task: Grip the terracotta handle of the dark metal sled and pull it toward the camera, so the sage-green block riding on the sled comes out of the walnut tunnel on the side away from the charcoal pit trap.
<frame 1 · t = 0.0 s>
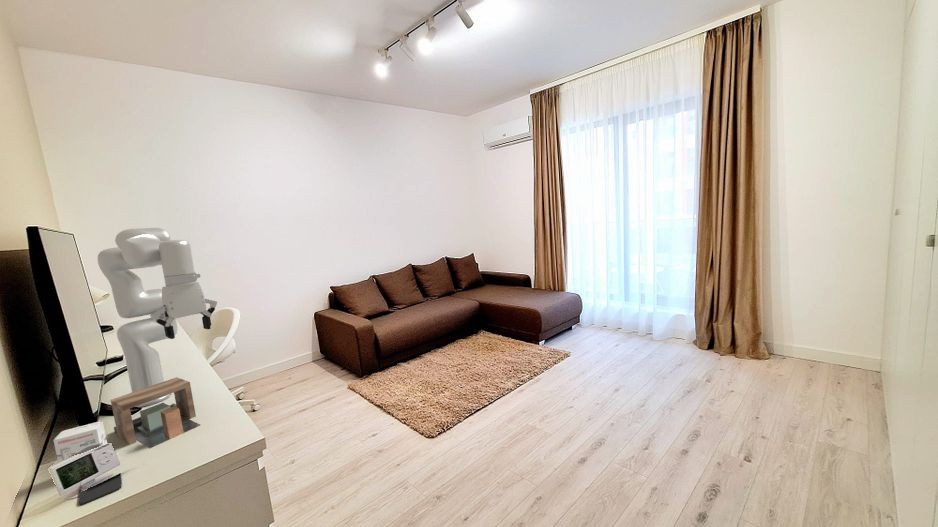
hand: (190, 333, 113), 31 cm above the table, fingers open, 9 cm apart
sage block: (158, 426, 117), point 1 cm above the table, touching sled
phone: (101, 485, 92), on the table
ink box: (87, 470, 98), on the table
tunnel: (159, 429, 117), on the table
pit trap: (149, 424, 121), on the table
sled: (162, 419, 114), point 5 cm above the table, slide at 0.0 cm, touching sage block
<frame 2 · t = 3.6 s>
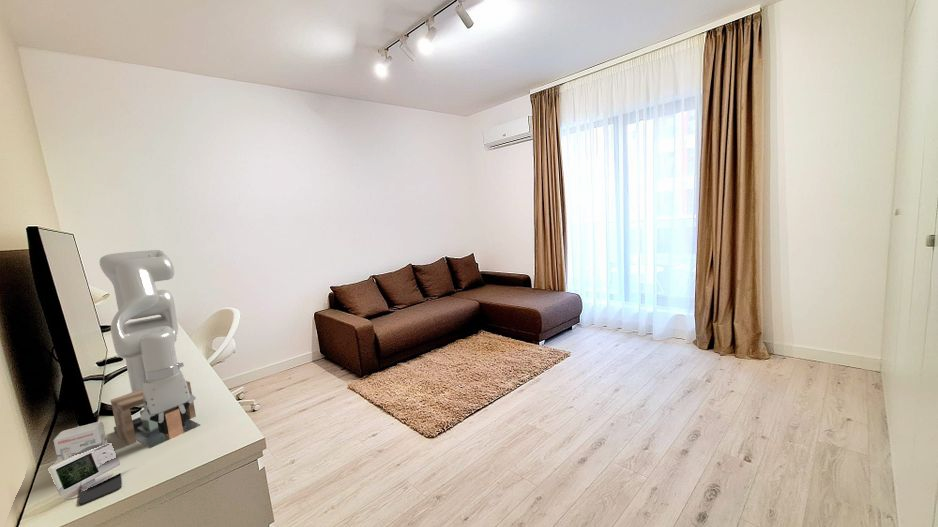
hand: (173, 428, 110), 3 cm above the table, fingers closed on sled, 3 cm apart
sled: (162, 419, 114), point 5 cm above the table, slide at 0.0 cm, touching gripper, sage block
everything else where it was.
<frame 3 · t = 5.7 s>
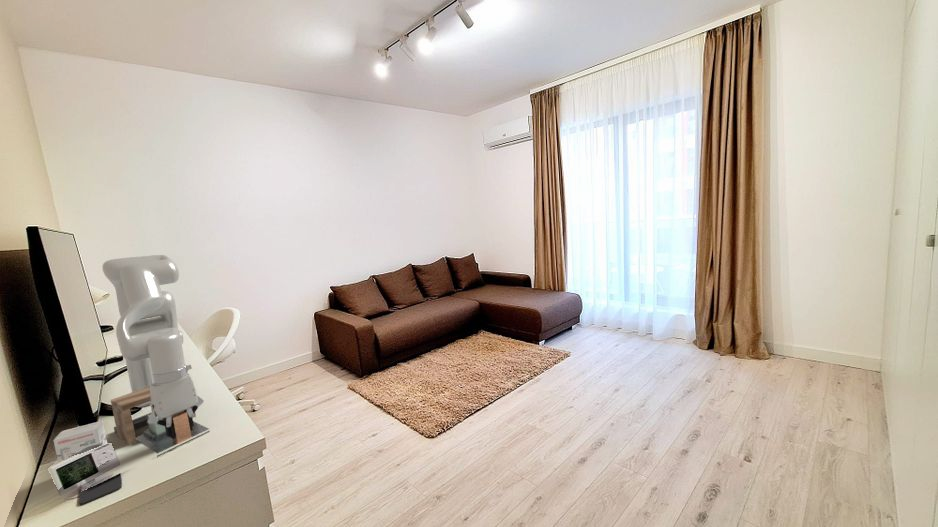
hand: (180, 432, 108), 3 cm above the table, fingers closed on sled, 3 cm apart
sage block: (165, 429, 114), point 1 cm above the table, touching sled
sled: (169, 422, 111), point 5 cm above the table, slide at 5.4 cm, touching gripper, sage block
everything else where it was.
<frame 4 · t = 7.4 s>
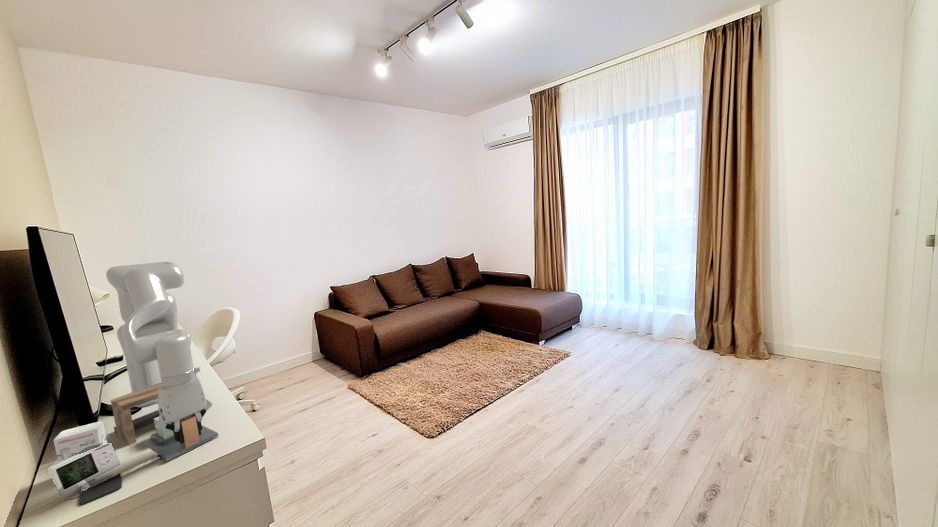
hand: (189, 437, 105), 3 cm above the table, fingers closed on sled, 3 cm apart
sage block: (173, 434, 111), point 1 cm above the table, touching sled
sled: (177, 426, 108), point 5 cm above the table, slide at 10.9 cm, touching gripper, sage block
everything else where it was.
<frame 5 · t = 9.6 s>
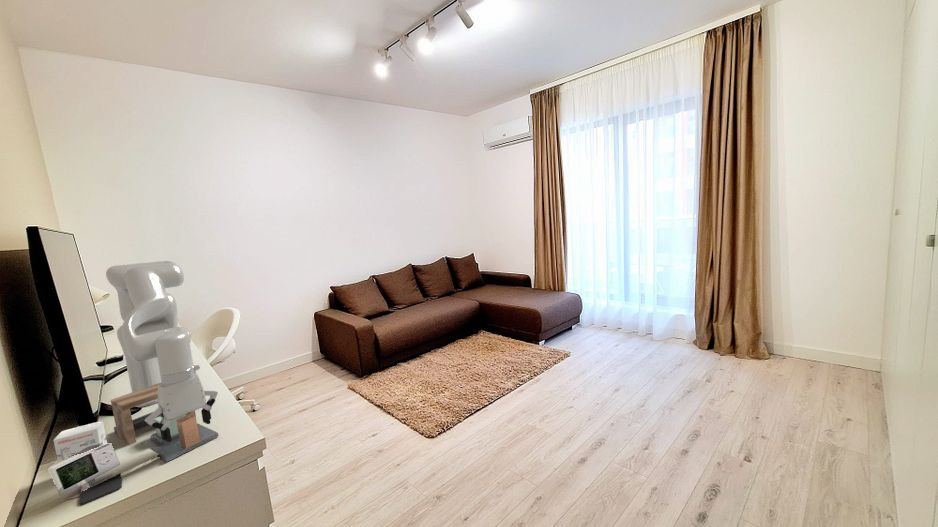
hand: (188, 431, 105), 5 cm above the table, fingers open, 9 cm apart
sled: (177, 426, 108), point 5 cm above the table, slide at 11.0 cm, touching sage block
everything else where it was.
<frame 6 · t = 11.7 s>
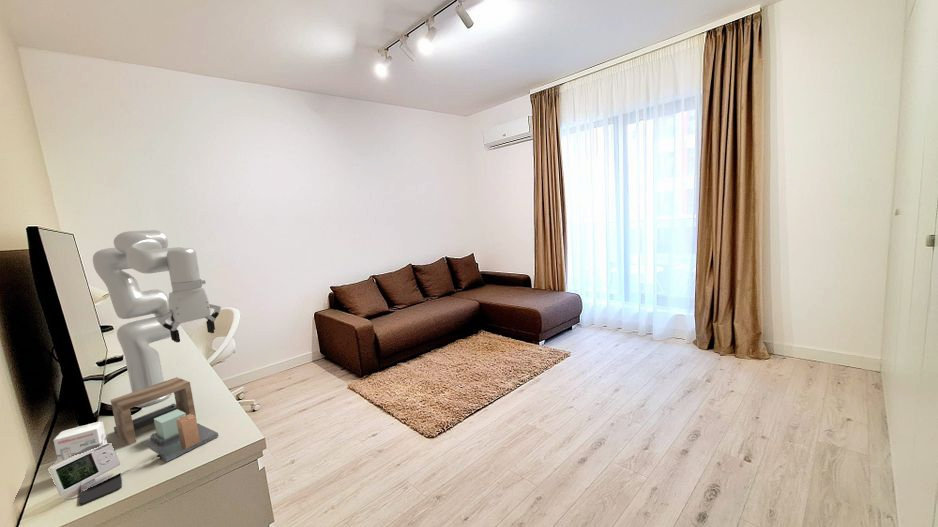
hand: (194, 337, 119), 28 cm above the table, fingers open, 9 cm apart
nothing on the table moved.
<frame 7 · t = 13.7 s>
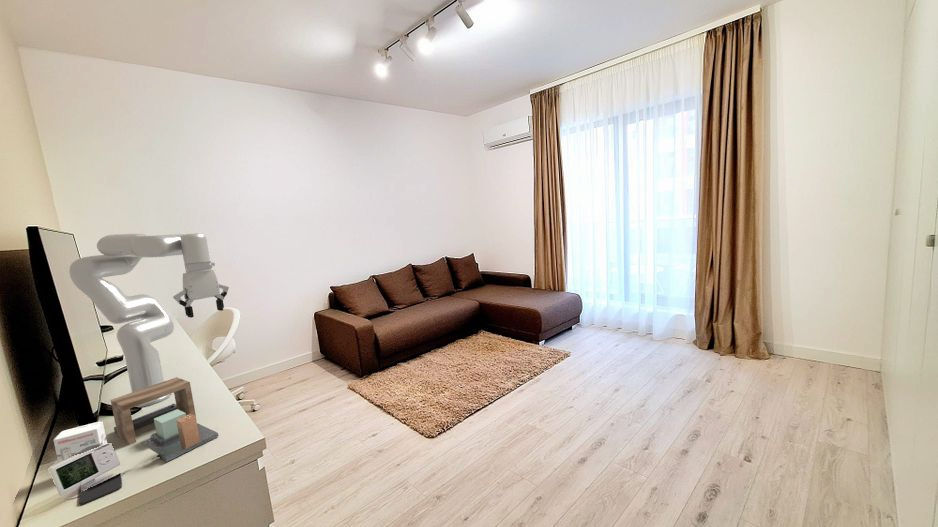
hand: (206, 313, 132), 33 cm above the table, fingers open, 9 cm apart
nothing on the table moved.
at the end: sage block inside the target area (1.0 cm from its centre), point 1.3 cm above the table; sage block tilted 0°; sled slide at 11.0 cm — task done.
